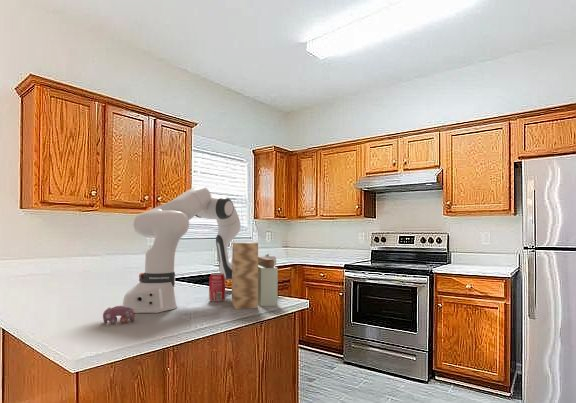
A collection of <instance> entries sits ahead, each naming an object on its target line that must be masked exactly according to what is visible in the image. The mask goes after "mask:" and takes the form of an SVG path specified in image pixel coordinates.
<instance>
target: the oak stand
mask: <svg viewBox="0 0 576 403" xmlns="http://www.w3.org/2000/svg"><path fill="white" fill-rule="evenodd" d="M231 255H232V256H231V257H232V280H231V305H232V307H233V308H234V309H235V310H238V309H239V310H240V309H241V310H242V309H257V308H258V306H259V304H258V256H259V242H253V241H252V242H247V241H245V242H241V241H239V242H236V241H235V242H234V241H233V242H232V254H231Z"/></svg>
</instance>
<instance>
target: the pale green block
mask: <svg viewBox="0 0 576 403" xmlns="http://www.w3.org/2000/svg"><path fill="white" fill-rule="evenodd" d="M278 269H279V268H278V267H277V266H274V268H264V267H262V266H260V265H258V306H260V307H274V306H276V307H277V306H278V299H279V298H278V295H279V294H278V293H279V292H278V291H279V289H278V284H279V281H278V280H279V279H278V276H279V274H278V272H279V270H278Z"/></svg>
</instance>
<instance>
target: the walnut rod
mask: <svg viewBox="0 0 576 403" xmlns="http://www.w3.org/2000/svg"><path fill="white" fill-rule="evenodd" d="M258 265H260V266H262V267H264V268H274V267H275V266H274V260H273V259H270V258H267V257H258Z"/></svg>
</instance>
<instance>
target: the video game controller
mask: <svg viewBox="0 0 576 403" xmlns="http://www.w3.org/2000/svg"><path fill="white" fill-rule="evenodd" d="M135 314H136V313H134V311H133V309H132V308H131V307H124V306H120V305H116V306H114V307H108V308H107V309H105V310H104V311H103V313H102V319H103V320H102V321H103V322H104V323H105V324H106V323H108V322H109V323H110V324H116V323H117V322H118V317H119V322H120V323H121V324H125V323H126V324H127V322H128V320H130V321H131V322H134V321H135V316H136V315H135Z"/></svg>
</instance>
